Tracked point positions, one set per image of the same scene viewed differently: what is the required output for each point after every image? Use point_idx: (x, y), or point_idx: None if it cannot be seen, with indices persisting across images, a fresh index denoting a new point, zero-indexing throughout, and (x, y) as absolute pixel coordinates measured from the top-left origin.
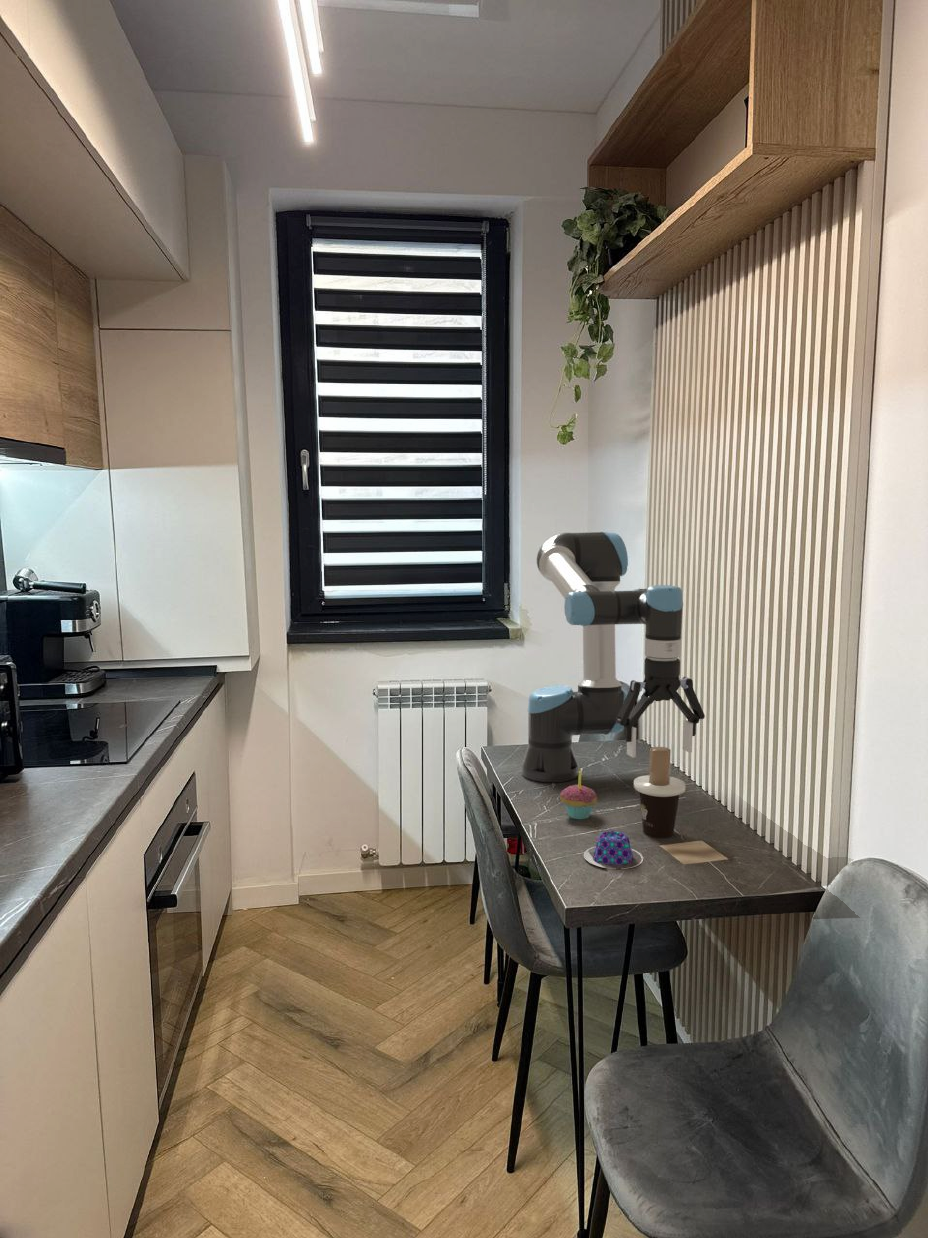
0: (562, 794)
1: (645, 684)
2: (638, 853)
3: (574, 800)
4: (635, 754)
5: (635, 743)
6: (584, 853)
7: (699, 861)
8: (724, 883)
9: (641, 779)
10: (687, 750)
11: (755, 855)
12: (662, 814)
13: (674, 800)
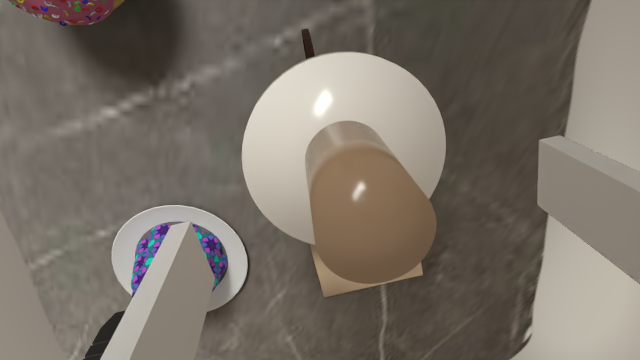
0: None
1: None
2: (241, 248)
3: (35, 16)
4: (211, 291)
5: (196, 341)
6: (113, 248)
7: (360, 285)
8: (371, 349)
9: (282, 116)
10: (542, 193)
11: (489, 248)
12: None
13: None
